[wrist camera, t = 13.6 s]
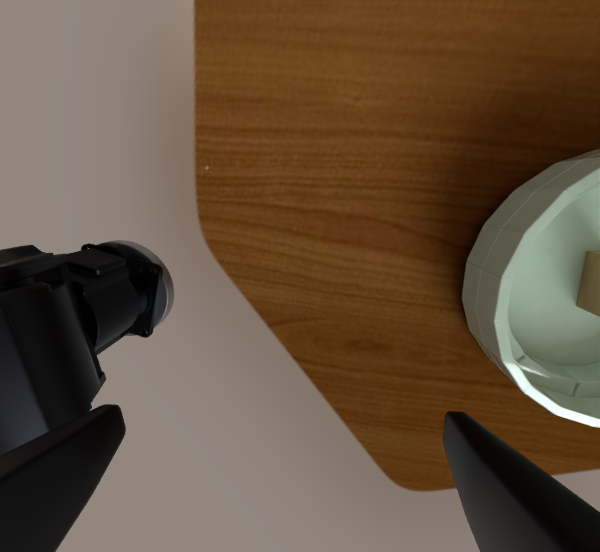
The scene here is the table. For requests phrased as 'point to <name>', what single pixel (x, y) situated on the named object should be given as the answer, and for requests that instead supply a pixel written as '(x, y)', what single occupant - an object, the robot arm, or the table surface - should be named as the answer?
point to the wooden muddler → (590, 284)
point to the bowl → (541, 288)
